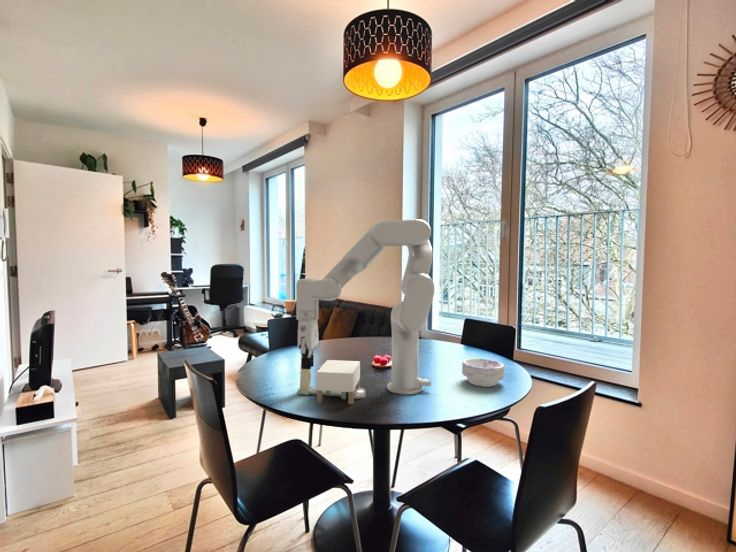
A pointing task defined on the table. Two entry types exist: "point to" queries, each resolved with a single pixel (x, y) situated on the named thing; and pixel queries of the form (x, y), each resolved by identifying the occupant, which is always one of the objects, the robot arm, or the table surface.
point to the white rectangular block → (338, 378)
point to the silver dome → (359, 393)
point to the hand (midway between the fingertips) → (307, 367)
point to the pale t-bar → (306, 389)
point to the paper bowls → (483, 371)
